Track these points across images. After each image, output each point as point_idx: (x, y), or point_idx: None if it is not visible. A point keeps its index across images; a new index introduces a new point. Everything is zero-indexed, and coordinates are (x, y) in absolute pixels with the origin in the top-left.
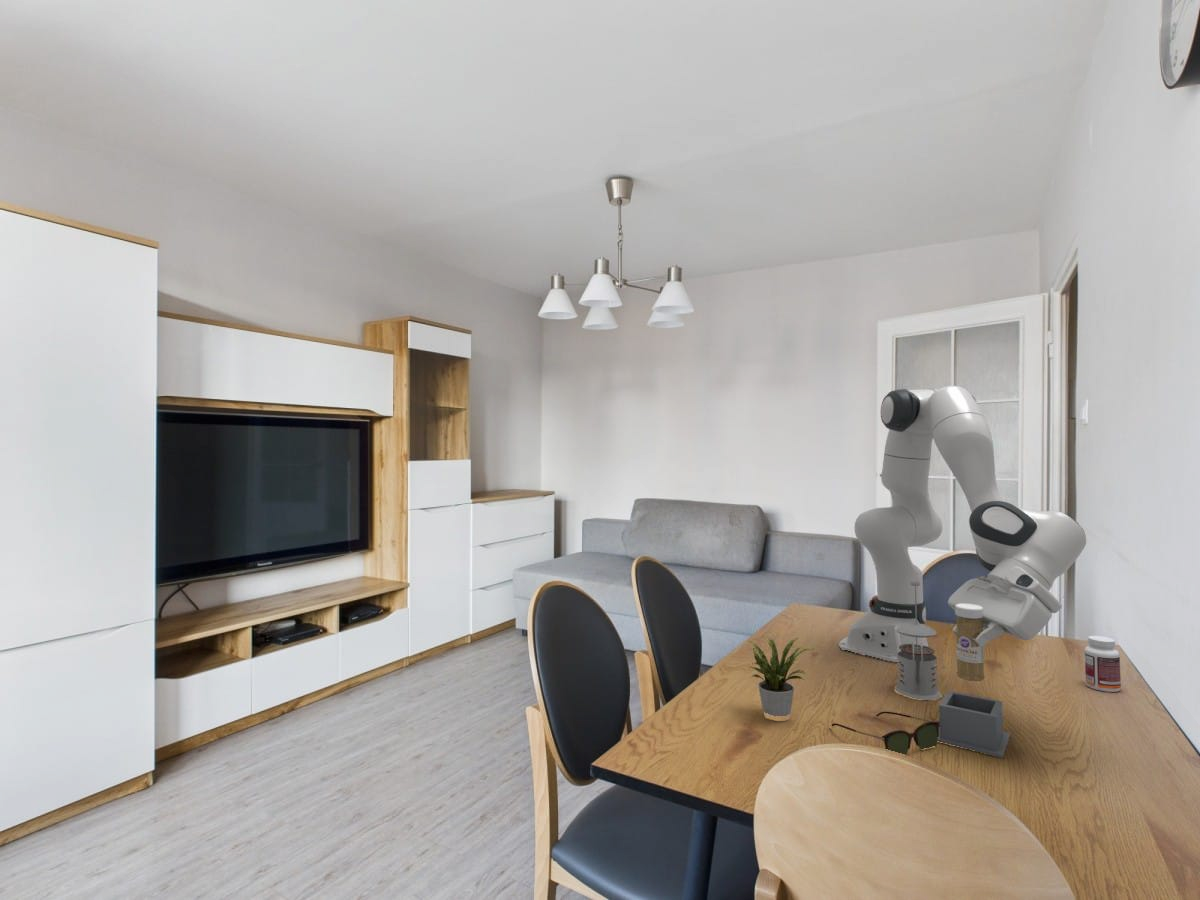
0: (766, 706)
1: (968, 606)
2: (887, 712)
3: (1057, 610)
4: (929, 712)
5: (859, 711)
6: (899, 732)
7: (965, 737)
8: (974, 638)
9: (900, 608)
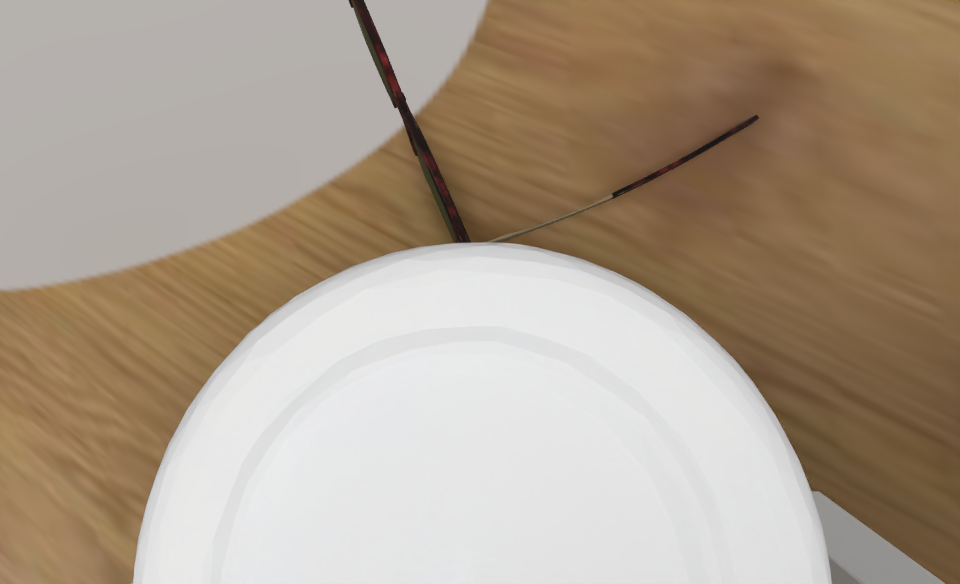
0: None
1: (391, 523)
2: (714, 141)
3: None
4: (827, 403)
5: (825, 82)
6: (365, 28)
7: None
8: None
9: None
